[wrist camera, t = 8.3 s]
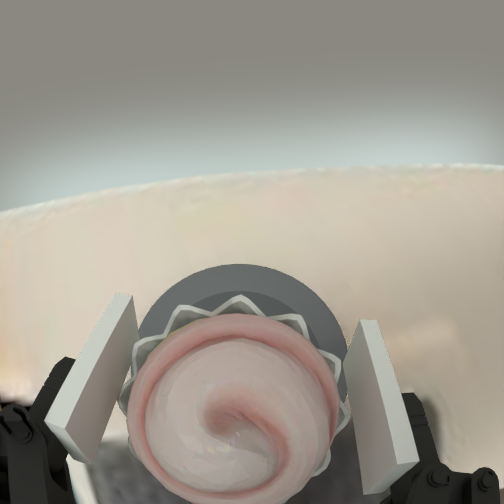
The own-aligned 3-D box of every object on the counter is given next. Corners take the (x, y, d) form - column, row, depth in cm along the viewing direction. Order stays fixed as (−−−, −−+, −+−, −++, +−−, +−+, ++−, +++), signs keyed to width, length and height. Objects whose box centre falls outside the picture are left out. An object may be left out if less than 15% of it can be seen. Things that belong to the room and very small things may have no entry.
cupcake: (354, 367, 16) (467, 382, 7) (258, 497, 14) (272, 614, 5) (213, 274, 18) (179, 190, 8) (119, 406, 15) (7, 451, 6)
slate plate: (371, 308, 30) (376, 306, 29) (300, 491, 25) (302, 497, 24) (181, 237, 32) (179, 233, 31) (109, 420, 26) (104, 423, 25)
